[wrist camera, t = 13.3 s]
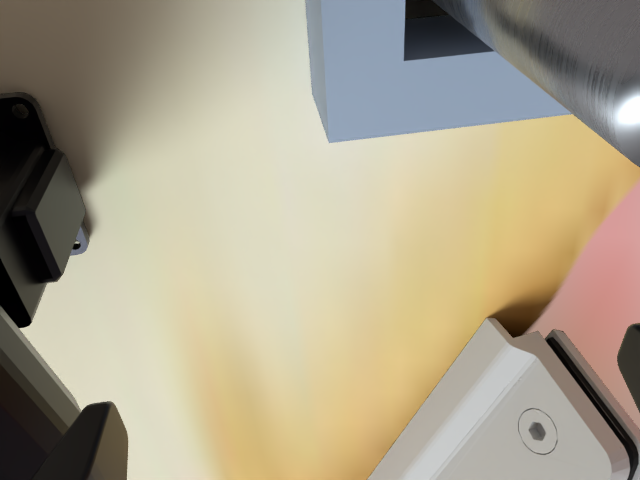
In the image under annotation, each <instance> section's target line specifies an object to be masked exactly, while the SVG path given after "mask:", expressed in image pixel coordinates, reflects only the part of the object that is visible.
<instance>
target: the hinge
mask: <svg viewBox="0 0 640 480" xmlns="http://www.w3.org/2000/svg"><path fill="white" fill-rule="evenodd" d="M367 480H640V429H639V428H638V427H637V425H636V424H635V423H634V422H633V420H632V419H631V418H630V416H629V415H628V414H627V413H626V412H625V410H624V409H623V408H622V406H621V405H620V404H619V402H618V401H617V400H616V399H615V397H614V396H613V395H612V393H611V392H610V391H609V389H608V388H607V387H606V386H605V385H604V383H603V382H602V380H601V379H600V378H599V377H598V375H597V374H596V373H595V372H594V370H593V369H592V368H591V366H590V365H589V364H588V363H587V361H586V360H585V359H584V357H583V356H582V355H581V353H580V352H579V351H578V350H577V348H576V347H575V346H574V344H573V343H572V342H571V341H570V339H569V338H568V337H567V335H566V334H565V333H564V331H560V330H555V329H553V330H552V331H551V332H550V333H549V335H548V336H547V337H546V338H545V339H544V338H543V337H542V335H541V334H540V333H539V331H536V332H533V333H529V334H526V335H522V336H519V337H515V338H512V336H511V335H510V334H509V333H508V332H507V331H506V330H505V329H504V328H503V326H502V325H501V324H500V323H499V322H498V321H497V320H496V319H495V318H486V319H485V321H484V322H483V323H482V325H481V326H480V327H479V329H478V330H477V331H476V333H475V334H474V335H473V337H472V338H471V340H470V341H469V342H468V344H467V345H466V346H465V348H464V349H463V350H462V352H461V353H460V354H459V356H458V357H457V359H456V360H455V361H454V363H453V364H452V365H451V367H450V368H449V369H448V371H447V372H446V373H445V375H444V376H443V377H442V379H441V380H440V382H439V383H438V384H437V386H436V387H435V388H434V390H433V391H432V392H431V394H430V395H429V396H428V398H427V399H426V401H425V402H424V403H423V405H422V406H421V407H420V409H419V410H418V411H417V413H416V414H415V415H414V417H413V418H412V419H411V421H410V422H409V424H408V425H407V426H406V428H405V429H404V430H403V432H402V433H401V434H400V436H399V437H398V438H397V440H396V441H395V443H394V444H393V445H392V447H391V448H390V449H389V451H388V452H387V453H386V455H385V456H384V457H383V459H382V460H381V461H380V463H379V464H378V466H377V467H376V468H375V470H374V471H373V472H372V474H371V475H370V476H369V478H368V479H367Z"/></svg>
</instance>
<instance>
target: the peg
mask: <svg viewBox="0 0 640 480" xmlns="http://www.w3.org/2000/svg"><path fill="white" fill-rule="evenodd" d="M432 1H433V2H435V3H436V4H437V5H438V6H439V7H441V8H442V9H443V10H444V11H446V12H447V13H448V14H449V15H451V16H452V17H453V18H454V19H456V20H457V21H458V22H459V23H461V24H462V25H463V26H464V27H466V28H467V29H468V30H469V31H470V32H472V33H473V34H474V35H475V36H477V37H478V38H479V39H480V40H482V41H483V42H484V43H485V44H487V45H488V46H489V47H490V48H492V49H493V50H494V51H495V52H497V53H498V54H499V55H500V56H501V57H503V58H504V59H505V60H506V61H508V62H509V63H510V64H511V65H513V66H514V67H515V68H516V69H518V70H519V71H520V72H521V73H523V74H524V75H525V76H526V77H528V78H529V79H530V80H531V81H532V82H534V83H535V84H536V85H537V86H539V87H540V88H541V89H542V90H544V91H545V92H546V93H547V94H549V95H550V96H551V97H552V98H554V99H555V100H556V101H557V102H558V103H560V104H561V105H562V106H563V107H565V108H566V109H567V110H568V111H570V112H571V113H572V114H573V115H575V116H576V117H577V118H578V119H580V120H581V121H582V122H583V123H585V124H586V125H587V126H588V127H589V128H591V129H592V130H593V131H594V132H596V133H597V134H598V135H599V136H601V137H602V138H603V139H604V140H606V141H607V142H608V143H609V144H611V145H612V146H613V147H614V148H616V149H617V150H618V151H619V152H620V153H622V154H623V155H624V156H625V157H627V158H628V159H629V160H630V161H632V162H633V163H634V164H636V165H637V166H639V167H640V0H432Z"/></svg>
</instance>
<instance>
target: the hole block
mask: <svg viewBox="0 0 640 480" xmlns="http://www.w3.org/2000/svg"><path fill="white" fill-rule="evenodd" d="M305 1H306V15H307V29H308V43H309V56H310V70H311V84H312V95H313V97H314V100H315V103H316V106H317V109H318V112H319V115H320V118H321V121H322V124H323V127H324V130H325V133H326V136H327V139H328V142H329V143H333V142H341V141H350V140H358V139H366V138H375V137H383V136H392V135H400V134H409V133H417V132H425V131H434V130H442V129H451V128H459V127H467V126H476V125H484V124H493V123H501V122H510V121H518V120H526V119H535V118H543V117H552V116H560V115H568V114H572V113H571V112H570V111H568V110H567V109H566V108H565V107H563V106H562V105H561V104H560V103H558V102H557V101H556V100H555V99H554V98H552V97H551V96H550V95H549V94H547V93H546V92H545V91H544V90H542V89H541V88H540V87H539V86H537V85H536V84H535V83H534V82H532V81H531V80H530V79H529V78H528V77H526V76H525V75H524V74H523V73H521V72H520V71H519V70H518V69H516V68H515V67H514V66H513V65H511V64H510V63H509V62H508V61H506V60H505V59H504V58H503V57H501V56H500V55H499V54H498V53H497V52H495V51H494V50H493V49H492V48H490V47H489V46H488V45H487V44H485V43H484V42H483V41H482V40H480V39H479V38H478V37H477V36H475V35H474V34H473V33H472V32H470V31H469V30H468V29H467V28H466V27H464V26H463V25H462V24H461V23H459V22H458V21H457V20H456V19H454V18H453V17H452V16H451V15H443V16H433V17H423V18H414V19H405V0H305Z"/></svg>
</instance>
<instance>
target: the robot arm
mask: <svg viewBox="0 0 640 480" xmlns="http://www.w3.org/2000/svg"><path fill="white" fill-rule="evenodd" d="M16 104H22V105H24V106H25V107H26V108H27V109H28V110H29V113H28V114H23V113H21V112H19V111H18V110H17V108H16ZM85 212H86V209H85V206H84V204H83V201H82V198H81V196H80V193H79V190H78V187H77V185H76V182H75V179H74V177H73V174H72V171H71V168H70V166H69V163H68V160H67V158H66V155H65V154H64V153H63V152H61V151H60V150H59V149H56V148H55V146H54V143H53V140H52V138H51V135H50V132H49V130H48V127H47V124H46V122H45V119H44V116H43V114H42V111H41V109H40V106H39V104H38V102H37V101H36V99H35V98H33V97H32V96H31V95H29V94H26V93H20V92H17V93H8V94H0V480H127V460H128V435H127V431H126V428H125V426H124V424H123V421H122V419H121V417H120V414H119V412H118V410H117V408H116V406H115V404H114V403H113V402H111V401H107V402H100V403H93V404H89V405H87V406H86V407H85V408H84V409H83V410H82V412H81V410H80V408H79V406H78V404H77V402H76V400H75V398H74V397H73V395H72V394H71V393H70V392H69V390H68V389H67V388H66V387H65V385H64V384H63V383H62V382H61V380H60V379H59V378H58V377H57V375H56V374H55V373H54V372H53V370H52V369H51V368H50V367H49V366H48V364H47V363H46V362H45V361H44V359H43V358H42V357H41V356H40V354H39V353H38V352H37V351H36V349H35V348H34V347H33V346H32V344H31V343H30V342H29V341H28V339H27V338H26V337H25V336H24V334H23V333H22V332H21V331H20V329H19V328H24V327H27V326H29V325H30V324H31V323H32V320H33V318H34V315H35V313H36V310H37V307H38V305H39V302H40V300H41V297H42V295H43V292H44V290H45V287H46V285H47V283H51V282H57V281H58V280H59V279H60V277H61V276H62V275H63V273H64V270H65V267H66V265H67V262H68V259H69V256H71V255H78V254H82V253H84V252H85V251H86V249H87V247H88V244H89V236H88V233H87V230H86V228H85V225H84V222H83V218H84V215H85ZM75 240H78V241H79V242H80V243H79V244H74V243H75ZM617 361H618V366H619V369H620V371H621V374H622V376H623V378H624V380H625V382H626V384H627V387H628V388H629V391H630V393H631V395H632V397H633V399H634V401H635V404H636V406H637V408H638V410H639V412H640V323H637V324H632V325H630V326H629V327H628V329H627V331H626V334H625V336H624V339H623V341H622V344H621V347H620V349H619V352H618V356H617Z"/></svg>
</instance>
